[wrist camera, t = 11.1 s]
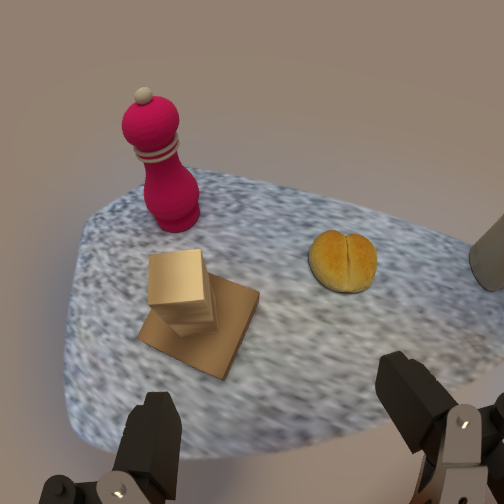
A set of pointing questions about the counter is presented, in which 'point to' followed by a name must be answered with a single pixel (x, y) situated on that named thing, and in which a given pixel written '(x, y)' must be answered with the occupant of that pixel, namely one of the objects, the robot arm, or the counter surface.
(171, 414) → the robot arm
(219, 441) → the counter surface
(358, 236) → the bread roll
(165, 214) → the pepper mill
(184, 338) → the walnut block
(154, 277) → the beech block
